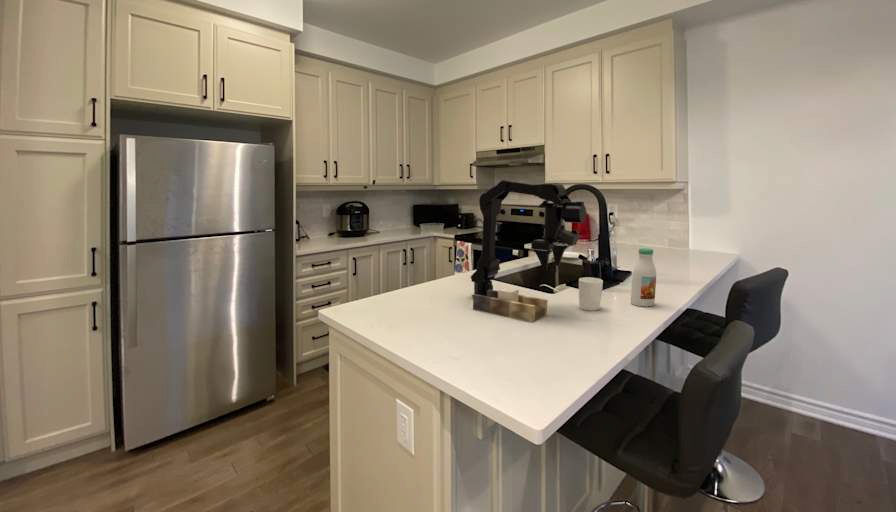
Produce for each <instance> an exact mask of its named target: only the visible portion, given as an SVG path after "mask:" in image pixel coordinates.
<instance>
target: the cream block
mask: <svg viewBox="0 0 896 512" xmlns="http://www.w3.org/2000/svg"><path fill="white" fill-rule="evenodd" d="M519 290H520V289H517V288H513V287H512V288H511V287H504V288H501V289H498V290H497V291H498V298H499V299H504V300H509V301H514V302H518V297H519V295H520V294H519Z"/></svg>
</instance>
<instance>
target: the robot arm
mask: <svg viewBox="0 0 896 512" xmlns="http://www.w3.org/2000/svg"><path fill="white" fill-rule="evenodd" d="M510 193H516V194H522V195H528V196H529V195H530V196H534V197H537V198H538V199H542V200H543V201H542V203H540V204H539V205H538V208H541V209H542V208H543V209H544V220H543V221H544V223H543V224H541V229H543V236H541V239H533V241H531V243H530V244H531V245H530V248H531V249H532V250H533V252H535V254H536V257H537V259H538V261H539V262H540V265H541V268H542V270H543V271H548V268H549V267H548V266H549V261H550V255H551V253H552V255H553V259H554V263H555V266H557V267H560V264H561V262H562V259H563V256H564V253H565V251H566V250H567V249H568V248H570V247H572V246H576V245H577V243H578V241H579V240H580V236H581V235H580V231H579V230H578V229H575V228H574V229H572V230H567V229H566V225H565V224H563V221H564V223H574V224H575V223H576V224H584V223H585V222H586V220H587V214H588V212H587V209H586V206H585V201H572V200H571V198H570V197H569V196H568V194H567V193H566V187H565V186H564V185H563V184H561V183H541V184H540V183H539V184H537V183H529V182H521V181H514V180H511V179H503V180H501V181H499V182H498V183H497V184H496V185H494V186H493V187H491V188H490V189H488V190H487V191H486V192H483V193H482V194H481V195H480V196H479V199H478V203H479V210H480V213H481V214H482V218H483V220H482V238H481V239H482V241H481V255H480V257H479V259H478V261H477V265H476V270H475V272H473V273H472V274H471V276H470V279H471V282H472V283H473V286H474V288H473V290H474V291H473V294H472V295H471V297H472V296H473V295H475V294H478V295H483V296H487V290H489V289H490V290H494V285H493V281H494V280H495V277H496V276H497V275H498V273H499V272H500V270H501V267H500V264H501V259H500V258H499V259H497V257H496V253H495V251H496V236H497V219H498V217H497V216H498V215H499V213H500V211H501V208H502V203H503V201H504V200H505V199H506V198H507V197H508V196H509V194H510ZM559 205H560V206H559Z"/></svg>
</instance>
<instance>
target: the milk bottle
mask: <svg viewBox="0 0 896 512" xmlns="http://www.w3.org/2000/svg"><path fill="white" fill-rule="evenodd" d="M653 256H654V249H653V248H647V247H645V248H643V247H641V248H638V259H637V261H636V264H635V265H634V267H633V269H632V277H631V289H630V290H631V291H630V292H631V293H630V303H631V304H632V305H633V306H636V307H637V306H638V307H643V306H644V307H645V308H646V307H648V306H650V307H653V306H655V303H656V302H655V301H656V290H657V289H656V286H657V270H656V267H655V263H654V261H653ZM648 308H649V307H648Z"/></svg>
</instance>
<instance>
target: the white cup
mask: <svg viewBox="0 0 896 512" xmlns="http://www.w3.org/2000/svg"><path fill="white" fill-rule="evenodd" d="M603 284H604V280H603V279H601V278H597V277H588V276H587V277H579V279H578V300H579V301H578V302H579V308H580V309H581V310H583V311H584V310H585V311H598V310H600V309H601V308H600V307H601V301H602V294H603Z"/></svg>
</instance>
